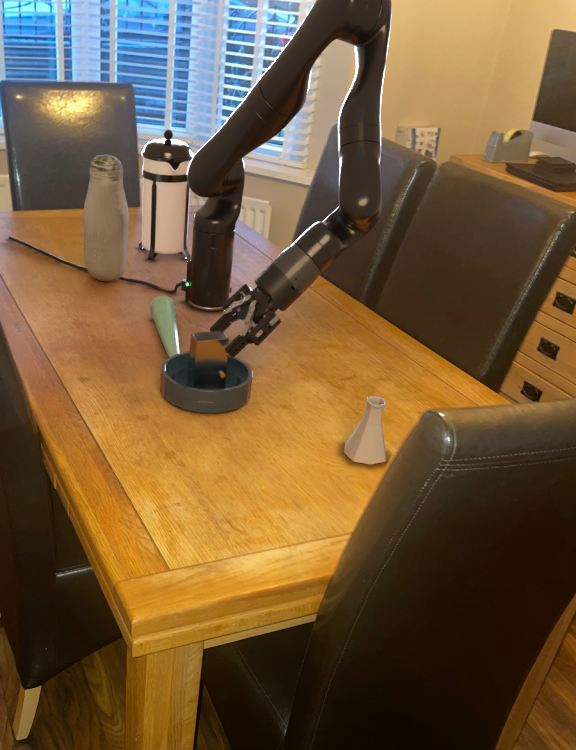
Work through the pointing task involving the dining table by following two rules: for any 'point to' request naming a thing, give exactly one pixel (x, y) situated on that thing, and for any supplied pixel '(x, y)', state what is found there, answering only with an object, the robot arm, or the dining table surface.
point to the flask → (368, 435)
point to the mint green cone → (166, 323)
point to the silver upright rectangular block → (208, 360)
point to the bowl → (204, 399)
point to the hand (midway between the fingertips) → (220, 343)
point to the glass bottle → (105, 220)
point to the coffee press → (165, 196)
